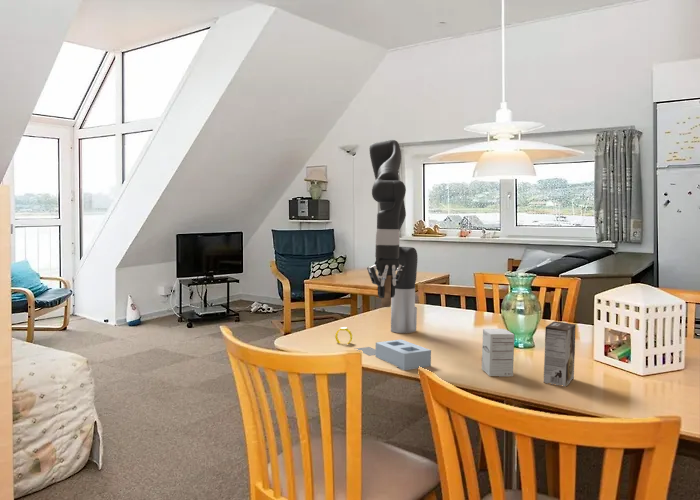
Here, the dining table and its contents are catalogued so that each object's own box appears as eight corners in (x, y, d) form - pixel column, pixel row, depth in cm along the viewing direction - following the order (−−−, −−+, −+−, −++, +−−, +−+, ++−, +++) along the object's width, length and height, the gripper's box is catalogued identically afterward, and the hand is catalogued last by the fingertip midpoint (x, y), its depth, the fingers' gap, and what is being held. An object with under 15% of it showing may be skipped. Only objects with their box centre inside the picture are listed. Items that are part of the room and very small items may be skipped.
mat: (369, 347, 197) (369, 346, 197) (384, 354, 189) (384, 353, 189) (354, 349, 194) (354, 348, 194) (369, 356, 186) (369, 355, 186)
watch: (334, 345, 202) (333, 328, 202) (337, 343, 205) (336, 326, 204) (350, 345, 200) (349, 328, 200) (353, 343, 203) (352, 327, 202)
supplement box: (480, 369, 172) (482, 328, 171) (504, 369, 173) (506, 328, 172) (488, 377, 165) (490, 333, 164) (513, 376, 166) (515, 333, 165)
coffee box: (551, 375, 167) (553, 320, 166) (574, 379, 164) (576, 323, 163) (542, 382, 160) (544, 326, 159) (566, 387, 156) (568, 329, 155)
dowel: (387, 305, 184) (388, 274, 184) (392, 306, 182) (393, 275, 181) (379, 305, 183) (380, 274, 182) (384, 307, 180) (385, 275, 180)
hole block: (400, 354, 189) (401, 339, 189) (430, 366, 175) (431, 350, 175) (375, 357, 184) (375, 342, 184) (404, 370, 171) (404, 353, 170)
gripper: (399, 242, 188) (398, 295, 189) (362, 242, 181) (361, 297, 182) (412, 244, 181) (411, 298, 182) (374, 244, 174) (373, 300, 175)
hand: (386, 297), depth 182 cm, fingers closed on dowel, 3 cm apart
